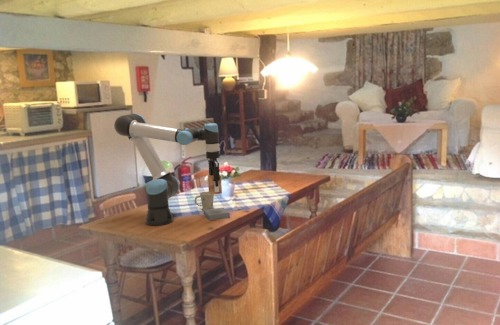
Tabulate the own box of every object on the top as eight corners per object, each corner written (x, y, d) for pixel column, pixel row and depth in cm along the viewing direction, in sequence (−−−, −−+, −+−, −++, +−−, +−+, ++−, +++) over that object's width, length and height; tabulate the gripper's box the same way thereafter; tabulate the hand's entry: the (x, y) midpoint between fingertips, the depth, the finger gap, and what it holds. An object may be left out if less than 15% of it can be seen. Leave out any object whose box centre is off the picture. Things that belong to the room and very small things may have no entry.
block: (211, 194, 268) (210, 177, 267) (208, 192, 274) (207, 175, 272) (221, 193, 270) (220, 176, 269) (218, 191, 276) (217, 174, 274)
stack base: (209, 220, 267) (209, 215, 267) (203, 215, 278) (203, 210, 278) (229, 217, 271) (229, 212, 271) (223, 212, 282) (223, 207, 282)
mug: (212, 210, 286) (211, 194, 284) (192, 210, 289) (191, 194, 287) (216, 207, 294) (215, 191, 293) (196, 206, 297) (195, 191, 295)
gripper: (224, 152, 260) (226, 193, 264) (214, 148, 278) (216, 186, 282) (211, 153, 258) (213, 195, 262) (201, 149, 275) (204, 188, 279)
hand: (215, 190), depth 272 cm, fingers closed on block, 6 cm apart
